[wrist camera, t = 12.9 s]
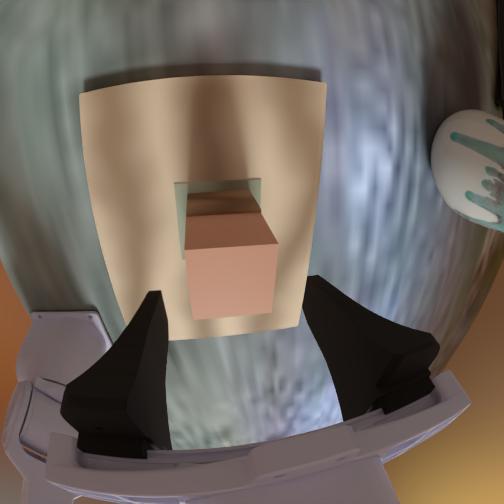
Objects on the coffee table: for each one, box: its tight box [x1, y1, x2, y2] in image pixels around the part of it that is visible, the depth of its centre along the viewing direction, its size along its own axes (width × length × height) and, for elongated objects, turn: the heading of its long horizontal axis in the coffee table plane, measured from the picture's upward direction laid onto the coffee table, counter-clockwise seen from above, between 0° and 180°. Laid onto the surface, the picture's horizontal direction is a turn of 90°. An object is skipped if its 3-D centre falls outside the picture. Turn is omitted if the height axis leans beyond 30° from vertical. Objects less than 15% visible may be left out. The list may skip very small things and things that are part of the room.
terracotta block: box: [184, 213, 279, 320], centre depth 16 cm, size 5×5×4 cm
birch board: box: [79, 75, 327, 340], centre depth 22 cm, size 18×24×1 cm
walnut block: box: [186, 190, 261, 217], centre depth 19 cm, size 5×5×4 cm
